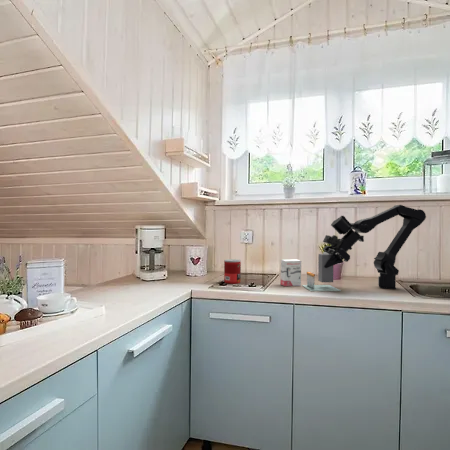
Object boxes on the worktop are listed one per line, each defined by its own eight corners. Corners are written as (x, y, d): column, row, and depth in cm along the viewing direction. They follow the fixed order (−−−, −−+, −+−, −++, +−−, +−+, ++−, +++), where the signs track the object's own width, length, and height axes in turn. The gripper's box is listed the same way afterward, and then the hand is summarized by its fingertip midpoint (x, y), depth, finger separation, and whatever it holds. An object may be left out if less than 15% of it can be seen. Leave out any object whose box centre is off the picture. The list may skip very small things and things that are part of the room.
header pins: (310, 286, 160) (310, 271, 160) (315, 289, 152) (315, 274, 152) (306, 286, 160) (306, 271, 160) (311, 289, 152) (311, 274, 152)
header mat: (329, 285, 163) (329, 284, 163) (340, 290, 150) (340, 290, 150) (302, 285, 162) (302, 285, 162) (310, 291, 150) (310, 290, 150)
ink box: (284, 286, 161) (284, 260, 161) (280, 284, 165) (280, 259, 165) (301, 285, 163) (301, 260, 163) (296, 284, 168) (296, 259, 168)
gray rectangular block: (329, 280, 159) (329, 252, 159) (333, 282, 154) (333, 253, 154) (318, 280, 159) (318, 252, 159) (322, 282, 154) (322, 253, 154)
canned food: (240, 284, 167) (240, 260, 167) (224, 283, 167) (224, 260, 167) (240, 281, 175) (240, 259, 175) (224, 281, 175) (224, 259, 175)
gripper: (327, 228, 166) (304, 252, 165) (343, 229, 147) (317, 255, 147) (343, 245, 167) (320, 268, 166) (361, 248, 148) (335, 274, 147)
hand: (322, 266), depth 156 cm, fingers closed on gray rectangular block, 5 cm apart
